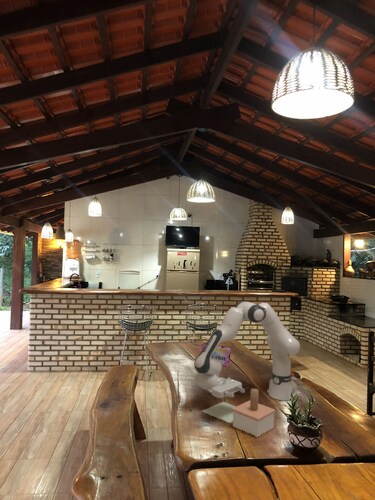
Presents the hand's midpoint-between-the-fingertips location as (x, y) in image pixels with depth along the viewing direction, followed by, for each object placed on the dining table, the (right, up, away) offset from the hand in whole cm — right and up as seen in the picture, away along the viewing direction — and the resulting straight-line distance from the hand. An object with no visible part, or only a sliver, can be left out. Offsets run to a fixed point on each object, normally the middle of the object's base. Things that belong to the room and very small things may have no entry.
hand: (238, 393), depth 202 cm
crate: (+6, -15, -7) cm, 17 cm away
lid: (+7, -8, -7) cm, 13 cm away
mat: (-6, -14, +9) cm, 18 cm away
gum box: (-5, -13, +99) cm, 100 cm away
